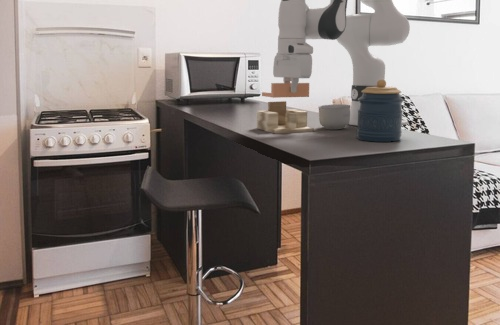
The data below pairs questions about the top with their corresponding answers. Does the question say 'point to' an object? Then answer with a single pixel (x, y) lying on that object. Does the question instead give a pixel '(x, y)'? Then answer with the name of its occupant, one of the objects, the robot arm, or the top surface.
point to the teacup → (334, 116)
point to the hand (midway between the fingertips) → (290, 92)
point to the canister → (380, 114)
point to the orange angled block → (287, 90)
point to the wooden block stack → (282, 119)
